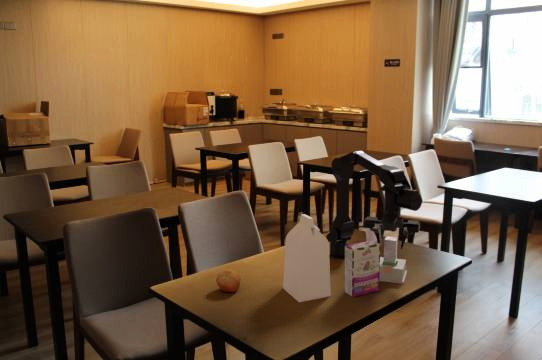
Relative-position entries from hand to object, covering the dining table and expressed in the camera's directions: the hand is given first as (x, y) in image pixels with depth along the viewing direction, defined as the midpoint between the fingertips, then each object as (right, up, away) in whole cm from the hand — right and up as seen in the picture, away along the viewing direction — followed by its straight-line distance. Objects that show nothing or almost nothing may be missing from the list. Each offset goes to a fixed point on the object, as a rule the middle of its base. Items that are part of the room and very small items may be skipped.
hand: (390, 247), depth 183 cm
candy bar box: (-12, -13, -11) cm, 21 cm away
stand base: (0, -10, +2) cm, 11 cm away
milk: (-30, -13, -11) cm, 35 cm away
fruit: (-56, -13, -9) cm, 58 cm away
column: (0, -6, +1) cm, 6 cm away
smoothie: (0, -4, +37) cm, 37 cm away
